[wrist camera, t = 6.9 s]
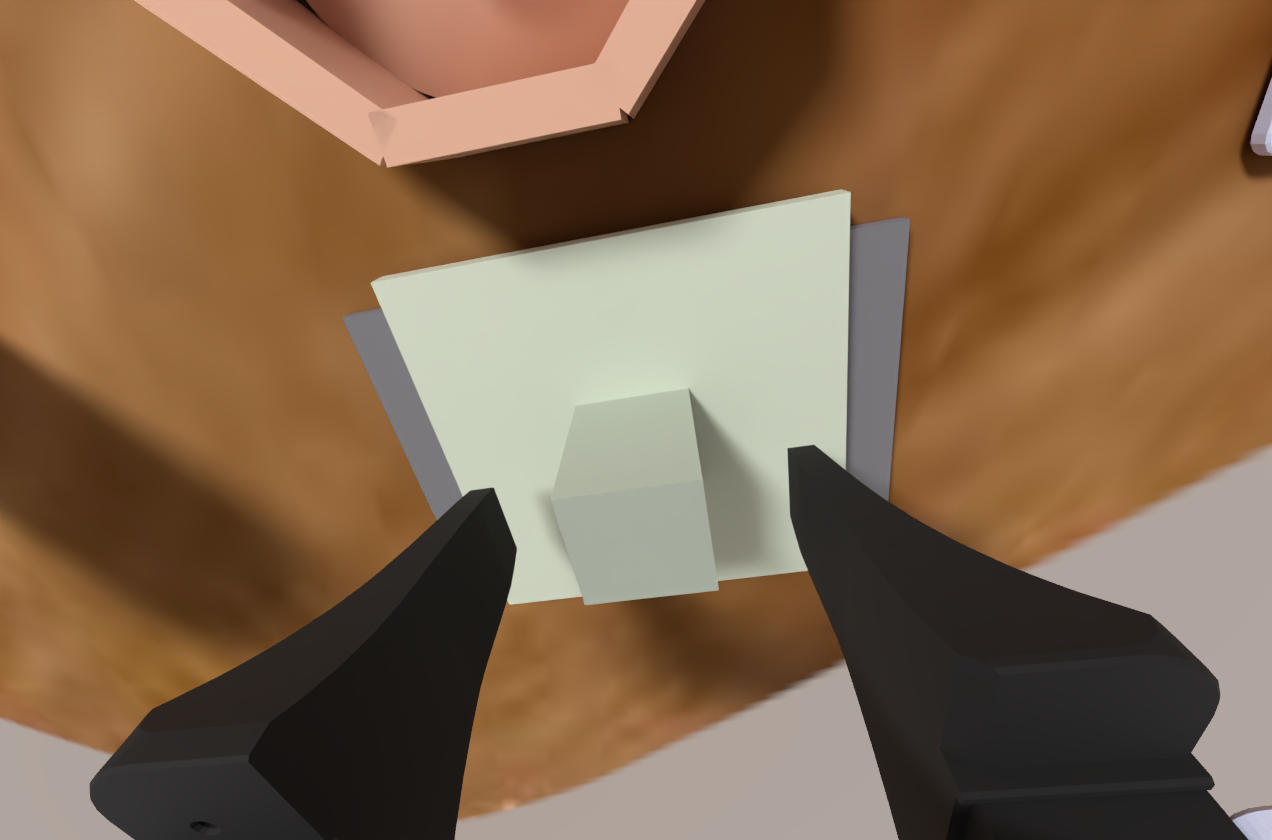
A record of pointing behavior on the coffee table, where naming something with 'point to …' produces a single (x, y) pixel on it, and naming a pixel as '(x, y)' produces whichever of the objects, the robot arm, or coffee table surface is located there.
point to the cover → (639, 392)
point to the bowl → (444, 65)
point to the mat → (868, 373)
